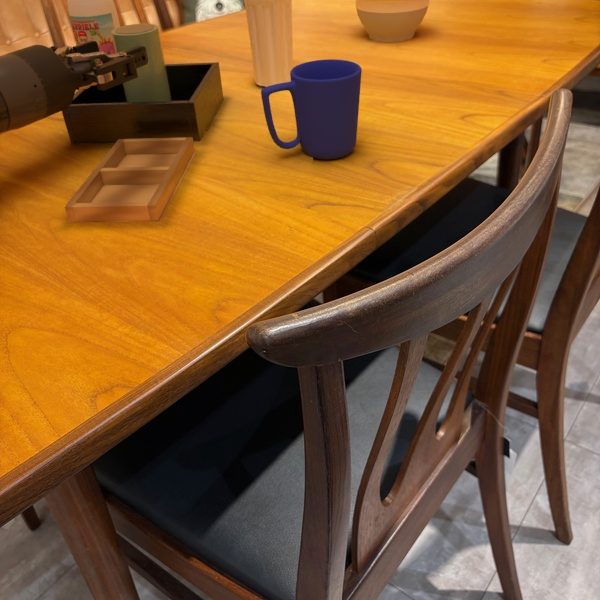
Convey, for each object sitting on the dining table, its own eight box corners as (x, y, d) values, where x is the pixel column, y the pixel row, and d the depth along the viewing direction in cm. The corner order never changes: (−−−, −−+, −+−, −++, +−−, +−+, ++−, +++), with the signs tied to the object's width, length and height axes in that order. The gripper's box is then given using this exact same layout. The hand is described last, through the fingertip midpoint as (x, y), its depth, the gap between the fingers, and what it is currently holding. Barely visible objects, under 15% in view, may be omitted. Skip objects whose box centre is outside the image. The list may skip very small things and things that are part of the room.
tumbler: (125, 126, 86) (104, 35, 78) (138, 111, 91) (119, 24, 83) (168, 125, 85) (151, 33, 78) (179, 109, 90) (163, 22, 83)
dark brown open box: (72, 147, 82) (59, 106, 79) (113, 103, 96) (104, 66, 93) (200, 144, 80) (193, 102, 77) (223, 99, 94) (218, 62, 91)
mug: (257, 153, 77) (248, 72, 71) (343, 134, 80) (341, 55, 75) (281, 178, 71) (274, 91, 65) (373, 156, 74) (374, 72, 68)
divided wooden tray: (68, 226, 64) (62, 206, 63) (121, 156, 79) (116, 139, 77) (161, 224, 63) (156, 205, 62) (197, 154, 78) (194, 137, 76)
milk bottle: (96, 71, 111) (65, -55, 99) (137, 71, 110) (110, -57, 98) (78, 85, 105) (42, -48, 93) (121, 85, 103) (90, -50, 92)
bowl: (450, 35, 117) (454, -15, 112) (386, 52, 110) (388, 0, 105) (394, 22, 128) (396, -24, 123) (333, 36, 121) (332, -11, 116)
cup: (259, 94, 95) (249, -7, 87) (243, 80, 102) (233, -15, 93) (307, 85, 98) (302, -14, 89) (289, 72, 104) (283, -22, 95)
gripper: (53, 60, 64) (156, 24, 75) (-33, 49, 70) (73, 17, 81) (73, 130, 68) (167, 86, 79) (-10, 113, 74) (88, 75, 85)
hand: (120, 51), depth 80 cm, fingers open, 8 cm apart
